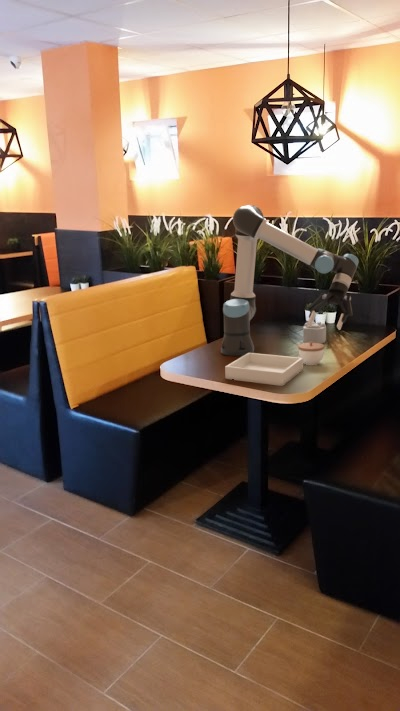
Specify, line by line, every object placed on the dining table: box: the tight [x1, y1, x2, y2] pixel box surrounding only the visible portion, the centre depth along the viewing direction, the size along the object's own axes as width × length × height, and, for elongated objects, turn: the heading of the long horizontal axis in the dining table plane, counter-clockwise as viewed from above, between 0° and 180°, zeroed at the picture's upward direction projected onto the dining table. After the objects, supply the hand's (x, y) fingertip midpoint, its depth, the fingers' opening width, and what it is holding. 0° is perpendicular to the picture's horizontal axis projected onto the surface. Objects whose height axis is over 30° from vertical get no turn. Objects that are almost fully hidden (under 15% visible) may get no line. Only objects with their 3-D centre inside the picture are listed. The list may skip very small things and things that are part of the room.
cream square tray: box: [224, 352, 304, 387], centre depth 236 cm, size 24×22×5 cm
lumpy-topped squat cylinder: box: [302, 321, 327, 344], centre depth 284 cm, size 10×13×9 cm
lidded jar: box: [297, 341, 325, 366], centre depth 247 cm, size 11×11×9 cm
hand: (323, 326), depth 252 cm, fingers open, 13 cm apart
